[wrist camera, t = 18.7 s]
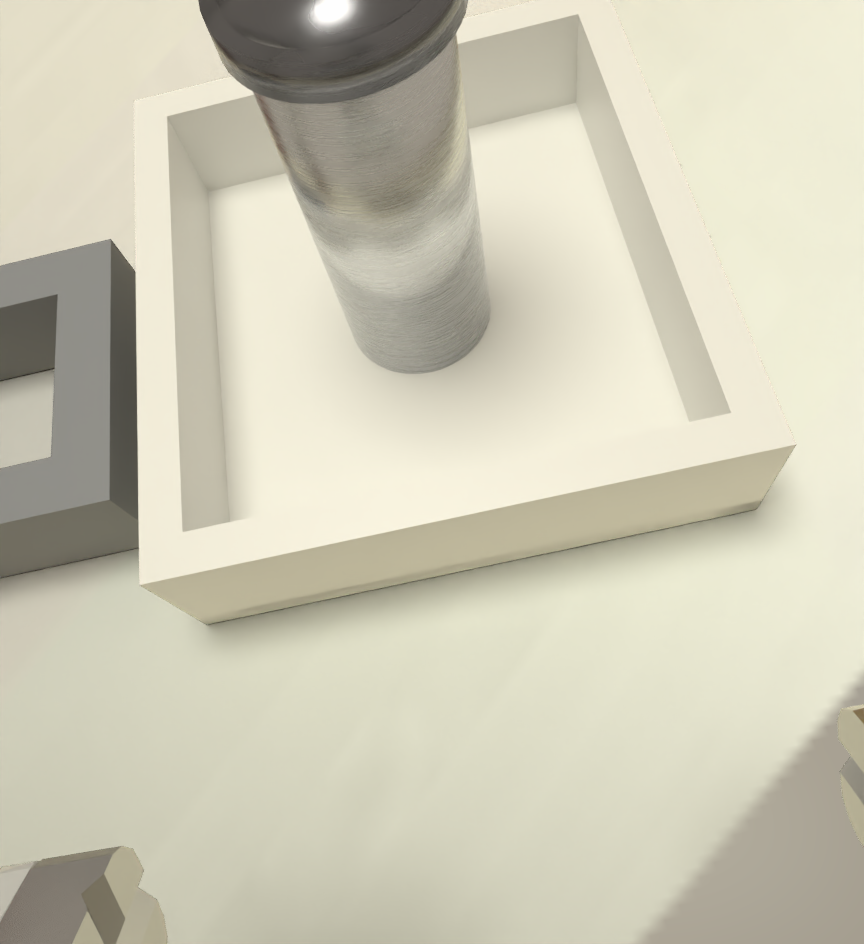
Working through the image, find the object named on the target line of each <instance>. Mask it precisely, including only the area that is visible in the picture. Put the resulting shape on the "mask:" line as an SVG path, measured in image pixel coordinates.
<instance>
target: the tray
mask: <svg viewBox="0 0 864 944" xmlns="http://www.w3.org/2000/svg"><path fill="white" fill-rule="evenodd" d="M456 35H457V43H458V51H459V59H460V67H461V74H462V82H463V90H464V98H465V106H466V114H467V122H468V130H469V138H470V146H471V154H472V161H473V169H474V177H475V185H476V193H477V201H478V209H479V217H480V225H481V233H482V241H483V248H484V256H485V264H486V272H487V280H488V288H489V296H490V304H491V313H490V320H489V323H488V326H487V329H486V331H485V333H484V335H483V337H482V338H481V340H480V341H479V343H478V344H477V345H476V346H475V348H474V349H473V350H472V351H471V352H469V353H468V354H467V355H466V356H465V357H463V358H462V359H461V360H459V361H458V362H456V363H454V364H452V365H450V366H448V367H445V368H443V369H440V370H437V371H433V372H428V373H422V374H405V373H399V372H394V371H391V370H387V369H385V368H383V367H381V366H378V365H377V364H375V363H374V362H372V361H371V360H370V359H368V358H367V357H366V356H365V355H364V354H363V352H362V351H361V350H360V349H359V347H358V345H357V344H356V342H355V339H354V337H353V335H352V332H351V330H350V327H349V325H348V322H347V320H346V318H345V315H344V313H343V310H342V308H341V305H340V303H339V301H338V298H337V296H336V293H335V291H334V288H333V286H332V283H331V281H330V279H329V276H328V274H327V271H326V269H325V266H324V264H323V262H322V259H321V257H320V254H319V252H318V249H317V247H316V245H315V242H314V240H313V237H312V235H311V232H310V230H309V228H308V225H307V223H306V220H305V218H304V215H303V213H302V211H301V208H300V206H299V203H298V201H297V198H296V196H295V193H294V191H293V189H292V186H291V184H290V181H289V179H288V176H287V174H286V172H285V169H284V167H283V164H282V162H281V159H280V157H279V155H278V152H277V150H276V147H275V145H274V142H273V140H272V138H271V135H270V133H269V130H268V128H267V125H266V123H265V121H264V118H263V116H262V113H261V111H260V108H259V106H258V104H257V101H256V99H255V96H254V94H253V91H252V90H250V89H248V88H246V87H245V86H243V85H242V84H241V83H239V82H238V81H237V80H236V79H235V78H234V77H233V76H230V77H226V78H222V79H218V80H214V81H210V82H206V83H202V84H198V85H194V86H190V87H186V88H182V89H178V90H174V91H170V92H166V93H162V94H158V95H154V96H150V97H146V98H142V99H138V100H134V185H135V268H136V352H137V436H138V519H139V585H140V586H142V587H143V588H145V589H147V590H148V591H150V592H152V593H154V594H155V595H157V596H159V597H160V598H162V599H164V600H165V601H167V602H169V603H170V604H172V605H174V606H175V607H177V608H179V609H181V610H182V611H184V612H186V613H187V614H189V615H191V616H192V617H194V618H196V619H197V620H199V621H201V622H202V623H204V624H206V625H207V624H212V623H217V622H222V621H226V620H231V619H236V618H241V617H246V616H250V615H255V614H260V613H265V612H269V611H274V610H279V609H284V608H288V607H293V606H298V605H303V604H307V603H312V602H317V601H322V600H326V599H331V598H336V597H341V596H346V595H350V594H355V593H360V592H365V591H369V590H374V589H379V588H384V587H388V586H393V585H398V584H403V583H407V582H412V581H417V580H422V579H426V578H431V577H436V576H441V575H446V574H450V573H455V572H460V571H465V570H469V569H474V568H479V567H484V566H488V565H493V564H498V563H503V562H507V561H512V560H517V559H522V558H527V557H531V556H536V555H541V554H546V553H550V552H555V551H560V550H565V549H569V548H574V547H579V546H584V545H588V544H593V543H598V542H603V541H607V540H612V539H617V538H622V537H627V536H631V535H636V534H641V533H646V532H650V531H655V530H660V529H665V528H669V527H674V526H679V525H684V524H688V523H693V522H698V521H703V520H707V519H712V518H717V517H722V516H727V515H731V514H736V513H741V512H746V511H750V510H755V509H757V508H758V506H759V505H760V503H761V501H762V500H763V498H764V496H765V495H766V493H767V492H768V490H769V488H770V487H771V485H772V483H773V482H774V480H775V479H776V477H777V475H778V474H779V472H780V470H781V469H782V467H783V466H784V464H785V462H786V461H787V459H788V457H789V456H790V454H791V453H792V451H793V449H794V448H795V446H796V442H795V440H794V437H793V435H792V432H791V430H790V428H789V425H788V423H787V420H786V418H785V416H784V413H783V411H782V408H781V406H780V404H779V401H778V399H777V396H776V394H775V392H774V389H773V387H772V384H771V382H770V380H769V377H768V375H767V372H766V370H765V368H764V365H763V363H762V360H761V358H760V355H759V353H758V351H757V348H756V346H755V343H754V341H753V339H752V336H751V334H750V331H749V329H748V327H747V324H746V322H745V319H744V317H743V315H742V312H741V310H740V307H739V305H738V303H737V300H736V298H735V295H734V293H733V291H732V288H731V286H730V283H729V281H728V279H727V276H726V274H725V271H724V269H723V267H722V264H721V262H720V259H719V257H718V255H717V252H716V250H715V247H714V245H713V243H712V240H711V238H710V235H709V233H708V231H707V228H706V226H705V223H704V221H703V219H702V216H701V214H700V211H699V209H698V207H697V204H696V202H695V199H694V197H693V195H692V192H691V190H690V187H689V185H688V183H687V180H686V178H685V175H684V173H683V171H682V168H681V166H680V163H679V161H678V159H677V156H676V154H675V151H674V149H673V146H672V144H671V142H670V139H669V137H668V134H667V132H666V130H665V127H664V125H663V122H662V120H661V118H660V115H659V113H658V110H657V108H656V106H655V103H654V101H653V98H652V96H651V94H650V91H649V89H648V86H647V84H646V82H645V79H644V77H643V74H642V72H641V70H640V67H639V65H638V62H637V60H636V58H635V55H634V53H633V50H632V48H631V46H630V43H629V41H628V38H627V36H626V34H625V31H624V29H623V26H622V24H621V22H620V19H619V17H618V14H617V12H616V10H615V7H614V5H613V2H612V0H533V1H529V2H525V3H521V4H517V5H513V6H509V7H505V8H501V9H497V10H493V11H489V12H485V13H481V14H477V15H473V16H469V17H465V18H463V21H462V23H461V25H460V27H459V29H458V31H457V32H456Z"/></svg>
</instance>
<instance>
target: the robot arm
mask: <svg viewBox="0 0 864 944" xmlns="http://www.w3.org/2000/svg"><path fill="white" fill-rule="evenodd" d="M837 724H838V740H839V741H840V742H841V744H842V745H843V746H844V748H845V749H846V750H847V751H848V752H849V754H850V755H851V756H850V758H849V759H848V761H847V762H846V763H845V765H844V766H843V768H842V769H841V770H840V780H841V789H842V798H843V801H844V804H845V807H846V811H847V814H848V817H849V820H850V823H851V825H852V827H853V829H854V831H855V833H856V835H857V837H858V839H859V841H860V843H861V844H862V846H863V847H864V704H862V705H857V706H852V707H847V708H842V709H841V710H840V713H839V716H838V720H837ZM143 872H144V869H143V867H142V865H141V863H140V861H139V859H138V857H137V855H136V853H135V851H134V849H132V848H128V847H124V846H120V847H114V848H107V849H101V850H95V851H89V852H83V853H77V854H71V855H65V856H59V857H53V858H47V859H42V860H41V861H34V862H28V863H22V864H16V865H10V866H4V867H1V868H0V944H167V938H168V936H167V930H166V925H165V919H164V915H163V913H162V910H161V908H160V905H159V903H158V901H157V899H156V898H154V897H152V896H151V895H149V894H148V893H146V892H145V891H143V890H141V889H140V888H138V885H139V882H140V880H141V877H142V874H143Z"/></svg>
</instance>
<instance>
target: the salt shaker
mask: <svg viewBox="0 0 864 944" xmlns="http://www.w3.org/2000/svg"><path fill="white" fill-rule="evenodd" d="M467 3H468V0H199V6H200V11H201V14H202V16H203V19H204V21H205V24H206V26H207V28H208V31H209V33H210V35H211V38H212V40H213V42H214V44H215V47H216V49H217V51H218V54H219V56H220V58H221V61H222V63H223V64H224V66H225V67H226V69H227V70H228V72H229V73H230V74H231V75H232V76H233V77H234V78H235V79H236V80H237V81H238V82H239V83H241V84H242V85H243V86H245V87H246V88H248V89H250V90H252V91H253V94H254V96H255V99H256V101H257V104H258V106H259V108H260V111H261V113H262V116H263V118H264V121H265V123H266V125H267V128H268V130H269V133H270V135H271V138H272V140H273V142H274V145H275V147H276V150H277V152H278V155H279V157H280V159H281V162H282V164H283V167H284V169H285V172H286V174H287V176H288V179H289V181H290V184H291V186H292V189H293V191H294V193H295V196H296V198H297V201H298V203H299V206H300V208H301V211H302V213H303V215H304V218H305V220H306V223H307V225H308V228H309V230H310V232H311V235H312V237H313V240H314V242H315V245H316V247H317V249H318V252H319V254H320V257H321V259H322V262H323V264H324V266H325V269H326V271H327V274H328V276H329V279H330V281H331V283H332V286H333V288H334V291H335V293H336V296H337V298H338V301H339V303H340V305H341V308H342V310H343V313H344V315H345V318H346V320H347V322H348V325H349V327H350V330H351V332H352V335H353V337H354V339H355V342H356V344H357V345H358V347H359V349H360V350H361V351H362V352H363V354H364V355H365V356H366V357H367V358H368V359H370V360H371V361H372V362H374V363H375V364H377V365H378V366H381V367H383V368H385V369H387V370H391V371H394V372H399V373H405V374H422V373H428V372H433V371H437V370H440V369H443V368H445V367H448V366H450V365H452V364H454V363H456V362H458V361H459V360H461V359H462V358H463V357H465V356H466V355H467V354H468V353H469V352H471V351H472V350H473V349H474V348H475V346H476V345H477V344H478V343H479V341H480V340H481V338H482V337H483V335H484V333H485V331H486V329H487V326H488V323H489V320H490V313H491V304H490V296H489V288H488V280H487V272H486V264H485V256H484V248H483V241H482V233H481V225H480V217H479V209H478V201H477V193H476V185H475V177H474V169H473V161H472V154H471V146H470V138H469V130H468V122H467V114H466V106H465V98H464V90H463V82H462V74H461V67H460V59H459V51H458V43H457V35H456V32H457V31H458V29H459V27H460V25H461V23H462V21H463V18H464V15H465V13H466V8H467Z"/></svg>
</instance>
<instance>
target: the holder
mask: <svg viewBox="0 0 864 944" xmlns="http://www.w3.org/2000/svg"><path fill="white" fill-rule="evenodd" d="M52 368H55V372H54V396H53V421H52V445H51V457H49V458H45V459H40V460H36V461H31V462H27V463H22V464H18V465H13V466H9V467H5V468H0V578H2V577H6V576H11V575H15V574H20V573H25V572H29V571H34V570H38V569H43V568H48V567H52V566H57V565H62V564H66V563H71V562H75V561H80V560H85V559H89V558H94V557H98V556H103V555H108V554H112V553H117V552H121V551H126V550H131V549H135V548H139V519H138V436H137V352H136V272H135V271H134V269H133V268H132V267H131V265H130V264H129V263H128V261H127V260H126V259H125V257H124V256H123V255H122V253H121V252H120V251H119V249H118V248H117V247H116V245H115V244H114V243H113V241H112V240H111V239H109V240H105V241H101V242H97V243H92V244H88V245H84V246H80V247H76V248H72V249H67V250H63V251H59V252H55V253H51V254H47V255H43V256H38V257H34V258H30V259H26V260H22V261H18V262H13V263H9V264H5V265H1V266H0V380H4V379H9V378H13V377H17V376H22V375H26V374H30V373H35V372H39V371H43V370H48V369H52Z"/></svg>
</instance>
